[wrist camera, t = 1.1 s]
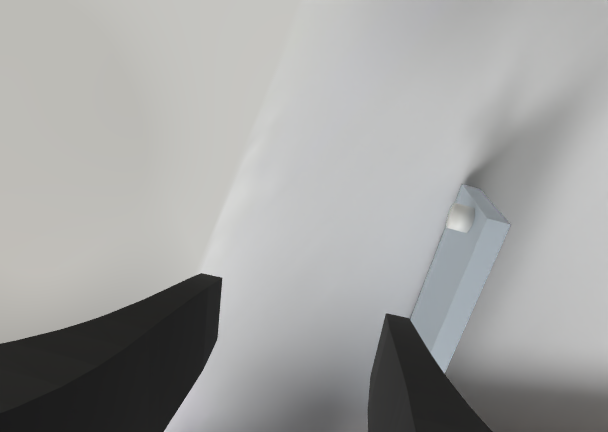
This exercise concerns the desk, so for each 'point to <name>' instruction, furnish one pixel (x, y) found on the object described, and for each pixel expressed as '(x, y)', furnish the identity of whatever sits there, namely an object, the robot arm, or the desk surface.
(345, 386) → the desk surface
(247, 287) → the desk surface
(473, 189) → the door
